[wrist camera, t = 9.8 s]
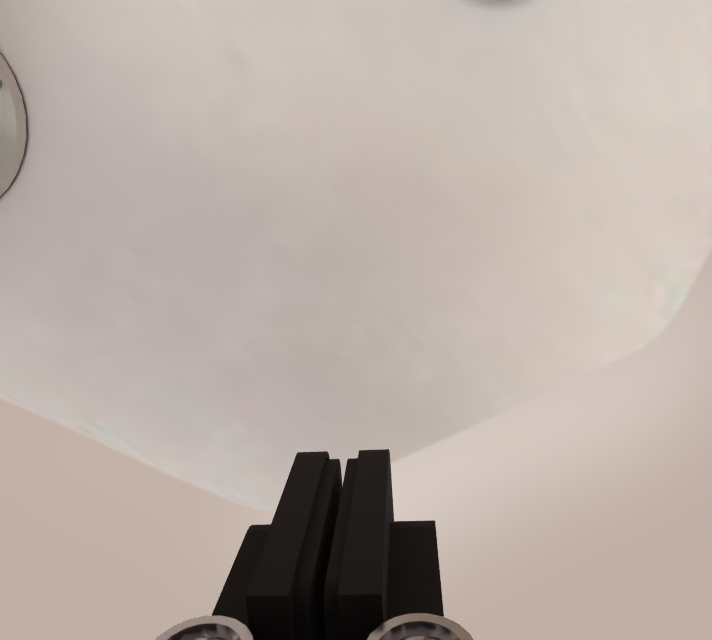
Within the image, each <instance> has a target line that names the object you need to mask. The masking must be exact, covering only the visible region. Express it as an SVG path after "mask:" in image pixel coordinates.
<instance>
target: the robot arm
mask: <svg viewBox="0 0 712 640" xmlns="http://www.w3.org/2000/svg"><path fill="white" fill-rule="evenodd" d="M1 83H2V84H3V85H1ZM25 142H26V114H25V110H24V105H23V100H22V95H21V93H20V90H19V87H18V85H17V82H16V80H15V77H14V75H13V73H12V71H11V70H10V68H9V66H8V65H7V63H6V61H5V60H4V58H3V56H2V55H1V54H0V196H1V195H2V194H3V193H4V192H5V191H6V190H7V189H8V187H9V186H10V184H11V182H12V181H13V179H14V177H15V176H16V174H17V172H18V170H19V167H20V164H21V161H22V158H23V156H24V149H25ZM155 640H473V638H472V637H471V635H470V634H469V633H468V632H467V631H466V630H465V629H464V628H462V627H461V626H460V625H459V624H457V623H455V622H453V621H451V620H449V619H447V618H445V617H444V614H443V603H442V593H441V581H440V570H439V561H438V549H437V538H436V527H435V521H397V522H394V513H393V498H392V482H391V466H390V453H389V449H387V450H359V455H358V458H356V459H348V460H347V466H346V471H345V476H344V482H343V487H342V477H341V466H340V460H339V459H329V454H328V452H298V453H297V455H296V457H295V460H294V463H293V466H292V468H291V471H290V474H289V477H288V479H287V482H286V485H285V488H284V490H283V493H282V496H281V499H280V501H279V504H278V507H277V510H276V512H275V515H274V518H273V521H272V524H271V525H252V526H250V527H249V529H248V531H247V533H246V535H245V537H244V540H243V543H242V545H241V547H240V549H239V552H238V554H237V556H236V559H235V561H234V564H233V566H232V568H231V571H230V573H229V575H228V578H227V580H226V583H225V585H224V587H223V590H222V592H221V594H220V597H219V599H218V602H217V604H216V606H215V609H214V611H213V613H212V616H202V617H198V618H194V619H189V620H186V621H184V622H182V623H180V624H177V625H175V626H173V627H171V628H170V629H168V630H167V631H165V632H164V633H162V634H161V635H160V636H158V637H157V638H156V639H155Z"/></svg>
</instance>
